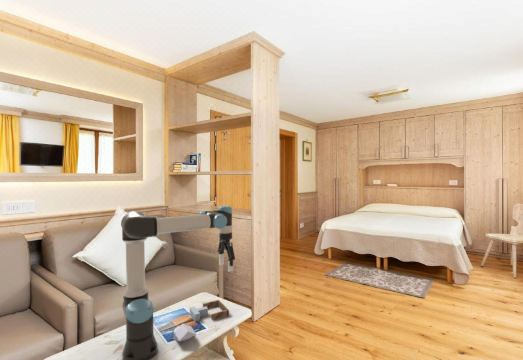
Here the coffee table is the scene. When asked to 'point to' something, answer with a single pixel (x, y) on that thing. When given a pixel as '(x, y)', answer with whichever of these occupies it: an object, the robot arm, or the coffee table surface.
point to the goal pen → (217, 303)
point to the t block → (198, 313)
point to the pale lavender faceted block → (183, 333)
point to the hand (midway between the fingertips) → (226, 267)
